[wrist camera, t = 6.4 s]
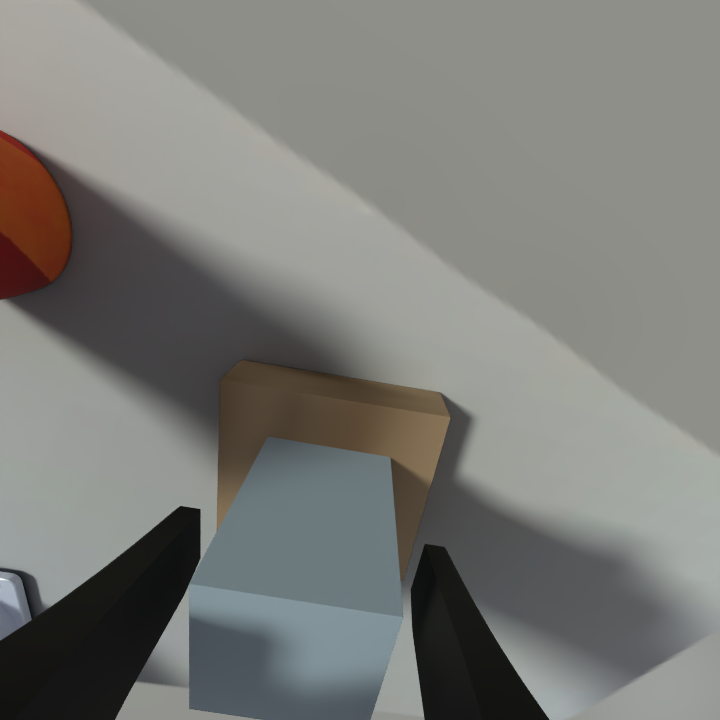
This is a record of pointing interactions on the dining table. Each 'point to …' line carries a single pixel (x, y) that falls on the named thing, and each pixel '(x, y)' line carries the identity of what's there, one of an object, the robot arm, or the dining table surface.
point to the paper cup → (30, 222)
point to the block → (298, 589)
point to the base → (332, 430)
